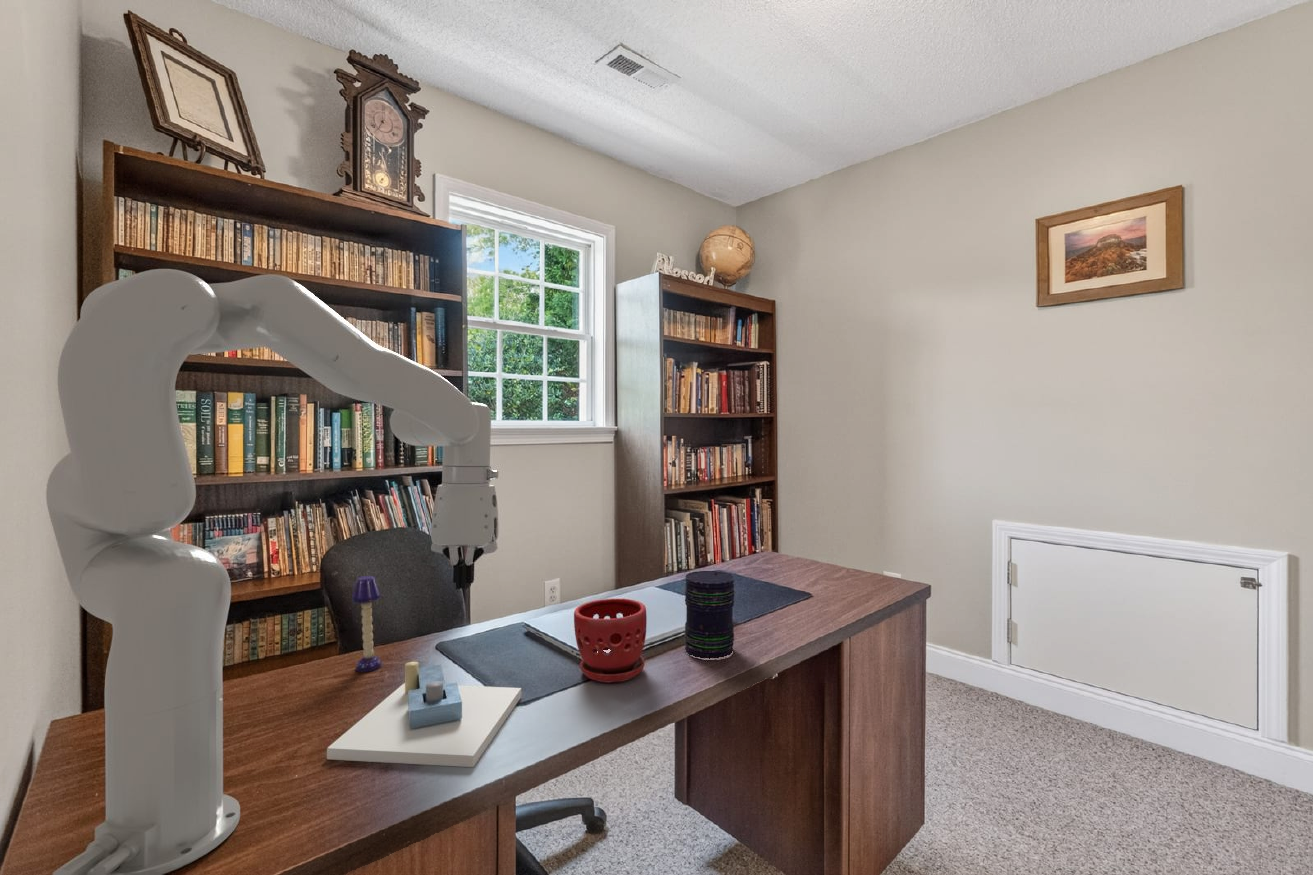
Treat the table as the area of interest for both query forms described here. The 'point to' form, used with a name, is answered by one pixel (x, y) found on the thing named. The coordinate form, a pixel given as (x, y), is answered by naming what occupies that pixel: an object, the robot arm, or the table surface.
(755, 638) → the table surface
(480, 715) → the post board
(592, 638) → the plant pot
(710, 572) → the storage jar
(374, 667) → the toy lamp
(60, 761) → the table surface
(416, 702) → the square nut with handle
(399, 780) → the table surface
